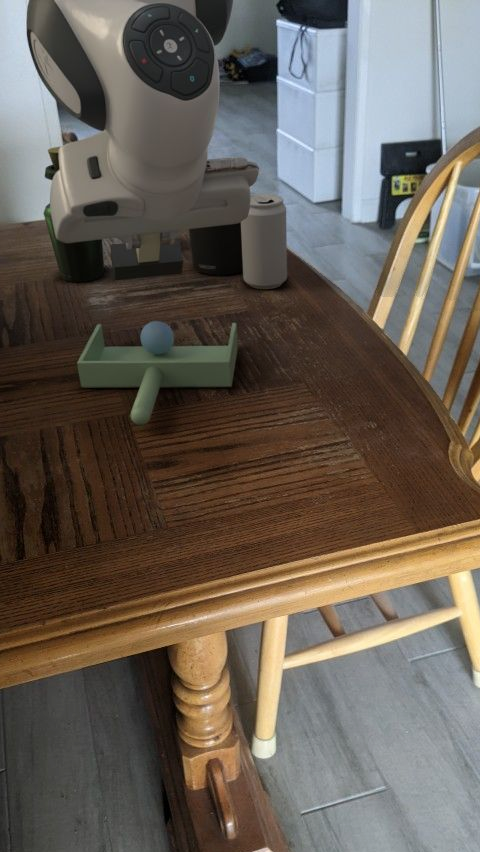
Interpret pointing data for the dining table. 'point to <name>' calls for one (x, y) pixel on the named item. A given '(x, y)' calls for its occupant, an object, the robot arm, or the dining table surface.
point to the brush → (146, 258)
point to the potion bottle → (73, 257)
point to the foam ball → (157, 337)
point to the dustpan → (155, 369)
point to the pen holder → (217, 249)
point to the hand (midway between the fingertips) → (148, 240)
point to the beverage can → (265, 242)
